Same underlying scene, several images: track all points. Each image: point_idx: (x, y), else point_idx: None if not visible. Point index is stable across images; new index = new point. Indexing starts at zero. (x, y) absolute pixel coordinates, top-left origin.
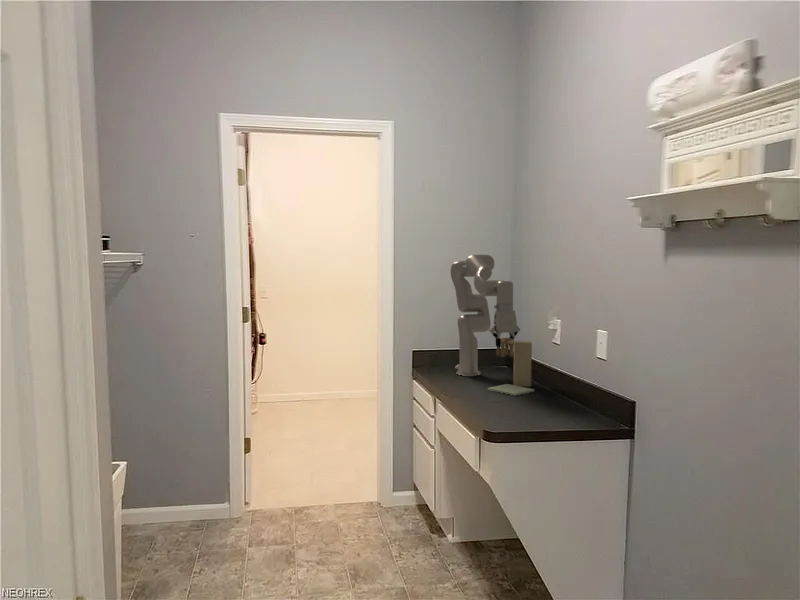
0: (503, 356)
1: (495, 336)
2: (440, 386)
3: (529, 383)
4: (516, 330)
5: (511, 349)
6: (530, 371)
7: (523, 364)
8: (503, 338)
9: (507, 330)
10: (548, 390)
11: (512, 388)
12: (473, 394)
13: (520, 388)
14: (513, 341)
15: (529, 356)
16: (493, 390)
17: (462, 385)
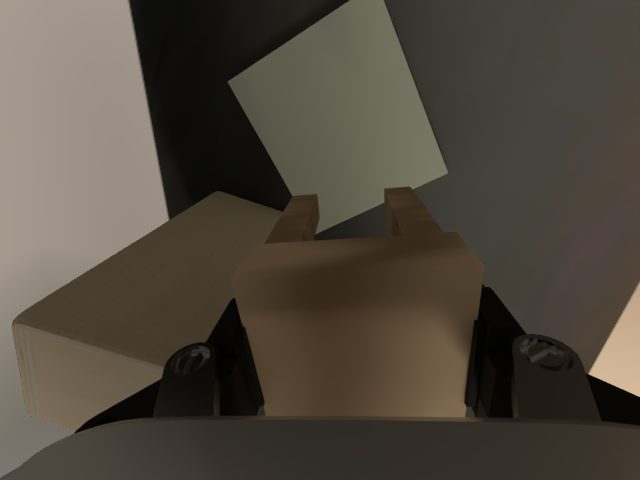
0: (397, 188)
1: (614, 386)
2: (606, 294)
3: (217, 196)
4: (33, 459)
5: (300, 216)
6: (185, 213)
7: (206, 243)
8: (362, 395)
9: (365, 466)
10: (157, 92)
11: (330, 131)
12: (569, 91)
13: (291, 121)
14: (248, 257)
15: (135, 255)
16: (432, 135)
17: (501, 287)
